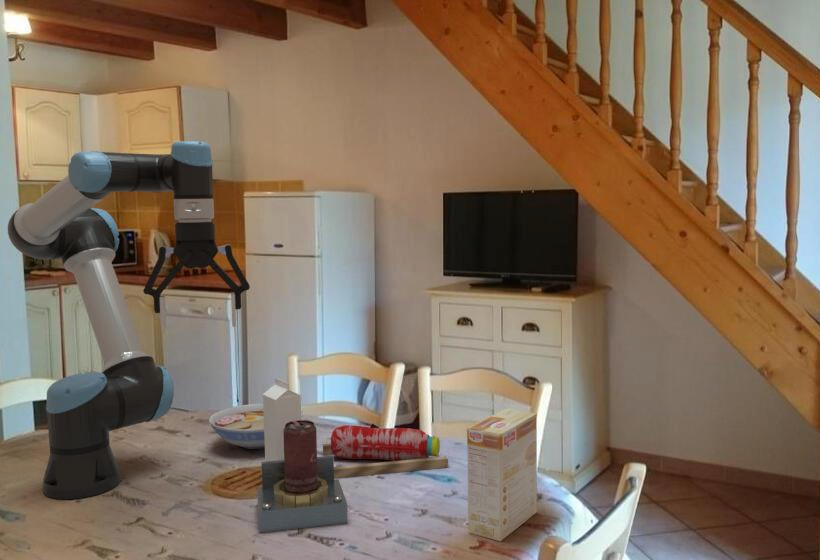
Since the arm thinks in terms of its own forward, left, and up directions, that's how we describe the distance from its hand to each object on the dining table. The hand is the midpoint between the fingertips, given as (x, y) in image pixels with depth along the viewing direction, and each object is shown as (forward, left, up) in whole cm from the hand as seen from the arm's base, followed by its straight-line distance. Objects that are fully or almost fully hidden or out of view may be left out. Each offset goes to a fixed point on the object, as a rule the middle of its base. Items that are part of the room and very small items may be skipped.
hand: (199, 327), depth 150 cm
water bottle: (+40, +12, -35) cm, 55 cm away
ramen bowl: (+11, +30, -35) cm, 47 cm away
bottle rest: (+39, +11, -35) cm, 53 cm away
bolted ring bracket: (+18, -15, -35) cm, 42 cm away
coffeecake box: (+54, -28, -35) cm, 70 cm away
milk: (+16, +4, -35) cm, 39 cm away
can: (+18, -16, -31) cm, 39 cm away
